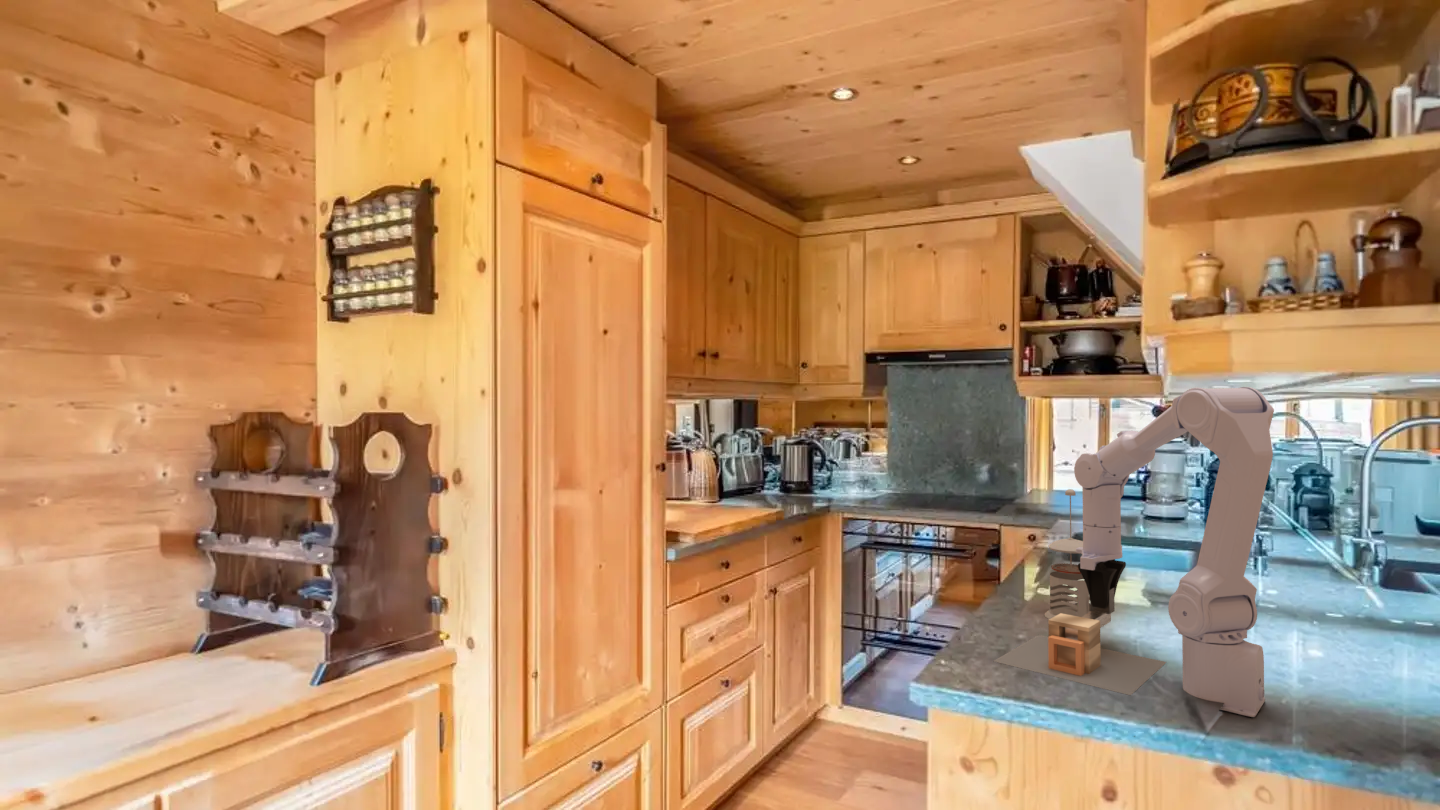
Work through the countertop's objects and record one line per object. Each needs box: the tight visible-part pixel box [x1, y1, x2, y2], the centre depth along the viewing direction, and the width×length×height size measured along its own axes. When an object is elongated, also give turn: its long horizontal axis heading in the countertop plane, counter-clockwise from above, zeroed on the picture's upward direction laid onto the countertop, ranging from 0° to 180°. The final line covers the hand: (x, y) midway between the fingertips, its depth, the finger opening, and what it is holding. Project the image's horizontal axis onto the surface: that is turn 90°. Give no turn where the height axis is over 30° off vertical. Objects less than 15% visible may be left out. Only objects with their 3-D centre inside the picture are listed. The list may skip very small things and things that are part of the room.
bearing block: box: [1047, 613, 1101, 674], centre depth 117 cm, size 6×5×7 cm
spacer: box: [1047, 635, 1085, 676], centre depth 114 cm, size 5×2×5 cm, turn 46°
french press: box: [1044, 488, 1091, 620], centre depth 144 cm, size 10×12×25 cm
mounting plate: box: [992, 634, 1167, 696], centre depth 118 cm, size 20×18×1 cm
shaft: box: [1065, 587, 1115, 640], centre depth 121 cm, size 3×15×6 cm, turn 135°
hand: (1102, 605), depth 126 cm, fingers closed on shaft, 2 cm apart
